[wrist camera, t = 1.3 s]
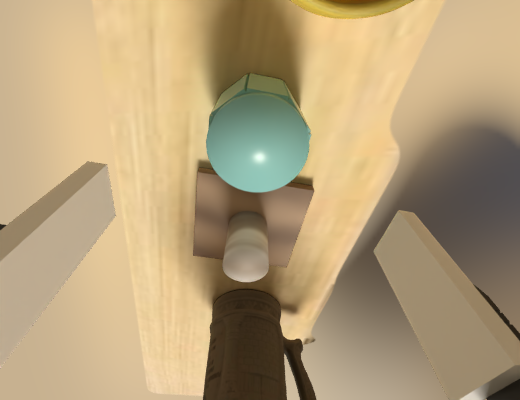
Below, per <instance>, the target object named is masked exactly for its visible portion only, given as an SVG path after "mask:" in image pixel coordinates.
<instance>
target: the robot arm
mask: <svg viewBox="0 0 520 400" xmlns="http://www.w3.org/2000/svg"><path fill="white" fill-rule="evenodd" d="M115 216H116V214H115V208H114V202H113V197H112V190H111V185H110V179H109V173H108V167H107V164H101V163H94V162H86V163H85V164H84V165H83V166H81V167H80V168H79V169H78V170H76V171H75V172H74V173H73V174H71V175H70V176H69V177H67V178H66V179H65V180H64V181H62V182H61V183H60V184H59V185H58V186H56V187H55V188H54V189H52V190H51V191H50V192H48V193H47V194H46V195H45V196H43V197H42V198H41V199H39V200H38V201H37V202H36V203H35V204H33V205H32V206H31V207H29V208H28V209H27V210H26V211H24V212H23V213H22V214H20V215H19V216H18V217H17V218H15V219H14V220H13V221H12V222H10V223H9V224H8V225H1V224H0V368H1V367H2V365H3V364H4V362H5V361H6V360H7V359H8V357H9V356H10V355H11V353H12V352H13V351H14V349H15V348H16V347H17V346H18V344H19V343H20V341H21V340H22V339H23V338H24V336H25V335H26V334H27V332H28V331H29V330H30V328H31V327H32V326H33V324H34V323H35V322H36V320H37V319H38V318H39V316H40V315H41V314H42V312H43V311H44V310H45V309H46V307H47V306H48V305H49V303H50V302H51V301H52V299H53V298H54V297H55V295H56V294H57V293H58V291H59V290H60V289H61V287H62V286H63V285H64V283H65V282H66V281H67V280H68V278H69V277H70V276H71V274H72V273H73V272H74V270H75V269H76V268H77V266H78V265H79V264H80V262H81V261H82V260H83V258H84V257H85V256H86V254H87V253H88V252H89V251H90V249H91V248H92V247H93V245H94V244H95V243H96V241H97V240H98V238H99V237H100V236H101V234H102V233H103V232H104V231H105V229H106V228H107V227H108V225H109V224H110V223H111V221H112V220H113V219H114V218H115ZM374 253H375V255H376V257H377V259H378V261H379V263H380V265H381V267H382V269H383V271H384V273H385V275H386V277H387V279H388V281H389V283H390V285H391V287H392V288H393V291H394V293H395V295H396V297H397V299H398V301H399V303H400V304H401V307H402V309H403V311H404V312H405V314H406V316H407V318H408V320H409V322H410V324H411V326H412V328H413V330H414V332H415V334H416V336H417V338H418V340H419V342H420V344H421V346H422V348H423V350H424V352H425V354H426V356H427V358H428V360H429V362H430V364H431V366H432V368H433V370H434V372H435V374H436V376H437V378H438V380H439V382H440V384H441V385H442V388H443V389H444V392H445V393H446V395H447V397H448V399H449V400H485V399H487V400H520V333H519V332H518V331H517V330H516V329H515V327H514V326H513V325H510V323H509V320H508V319H507V318H506V317H505V316H504V314H503V313H500V310H499V309H498V307H497V306H496V305H495V304H494V303H493V301H492V300H491V299H490V298H489V297H488V296H487V295H486V294H485V293H484V292H482V291H481V290H480V289H479V288H477V287H476V286H475V285H474V284H472V283H471V282H470V280H469V279H468V278H467V277H466V275H465V274H464V273H463V272H462V271H461V269H460V268H459V267H458V266H457V265H456V263H455V262H454V261H453V260H452V259H451V257H450V256H449V255H448V254H447V252H446V251H445V250H444V249H443V248H442V247H441V245H440V244H439V243H438V242H437V241H436V239H435V238H434V237H433V236H432V234H431V233H430V232H429V231H428V229H427V228H426V227H425V226H424V225H423V223H422V222H421V221H420V220H419V219H418V217H417V216H416V215H415V214H414V213H413V212H406V211H400V210H398V212H397V214H396V215H395V217H394V219H393V220H392V222H391V223H390V225H389V227H388V228H387V230H386V232H385V233H384V235H383V237H382V238H381V240H380V242H379V243H378V245H377V246H376V248H375V250H374Z"/></svg>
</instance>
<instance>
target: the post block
mask: <svg viewBox="0 0 520 400" xmlns="http://www.w3.org/2000/svg"><path fill="white" fill-rule="evenodd" d="M313 193H314V188H313V186H311V185H305V184H299V183H292V182H289V183H288V184H286V185H285V186H283V187H281V188H278V189H275V190H272V191H268V192H248V191H244V190H241V189H238V188H236V187H233V186H232V185H230V184H228V183H227V182H226V181H224V180H223V179H222V178H221V177H220V176H219V175H218V174H217V173H216V171H215V170H212V169H206V168H199V170H198V175H197V194H196V213H195V231H194V250H193V256H200V257H208V258H216V259H223V266H222V267H223V271H224V273H225V274H226V275H227V276H228V277H230V278H231V279H233V280H236V281H239V282H253V281H257V280H259V279H261V278H263V277H264V276H265V275H266V274H267V272H268V270H269V265H272V266H279V267H287V265H288V262H289V259H290V256H291V254H292V251H293V248H294V245H295V243H296V240H297V237H298V234H299V232H300V229H301V226H302V223H303V221H304V218H305V215H306V212H307V210H308V207H309V204H310V201H311V199H312V196H313Z"/></svg>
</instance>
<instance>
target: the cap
mask: <svg viewBox="0 0 520 400" xmlns="http://www.w3.org/2000/svg"><path fill="white" fill-rule="evenodd" d="M310 132H311V131H310V129H309V127H308V125H307V123H306V120H305V118H304V116H303V114H302V112H301V110H300V108H299V106H298V104H297V103H296V101H295V99H294V97H293V96H292V94H291V92H290V91H289V89H288V87H287V85H286V84H285V82H284V81H282V79H277V78H272V77H267V76H262V75H258V74H253V73H250V75H248V74H246V75H245V76H244V77H242V78H241V79H240V80H238V81H237V82H236V83H235V84H233V85H232V86H231V87H229V88H228V89H227V90H225V91H224V92H223V93H222V94H221V96H220V98H219V100H218V101H217V103H216V105H215V107H214V109H213V111H212V112H211V114H210V117H209V130H208V134H207V140H206V148H207V154H208V157H209V160H210V163H211V165H212V167H213V168H214V170H215V171H216V173H217V174H218V175H219V176H220V177H221V178H222V179H223V180H224V181H226V182H227V183H228V184H230V185H232V186H233V187H236V188H238V189H241V190H244V191H248V192H268V191H272V190H275V189H278V188H281V187H283V186H285V185H286V184H288V183H289V182H290V181H292V180H293V179H294V178H295V177H296V176H297V175H298V174H299V172H300V171H301V170H302V168H303V166H304V164H305V162H306V160H307V156H308V152H309V140H310V137H311V133H310Z"/></svg>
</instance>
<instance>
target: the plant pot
mask: <svg viewBox="0 0 520 400" xmlns="http://www.w3.org/2000/svg"><path fill="white" fill-rule="evenodd" d="M290 1H292V2H293V3H294V4H296V5H298V6H299V7H301V8H303V9H305V10H307V11H309V12H311V13H314V14H317V15H320V16H324V17H329V18H338V19H357V18H367V17H373V16H378V15H381V14H384V13H388V12H390V11H393V10H395V9H398V8H400V7H402V6H404V5H406V4H408V3H410V2H412V1H414V0H290Z"/></svg>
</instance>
